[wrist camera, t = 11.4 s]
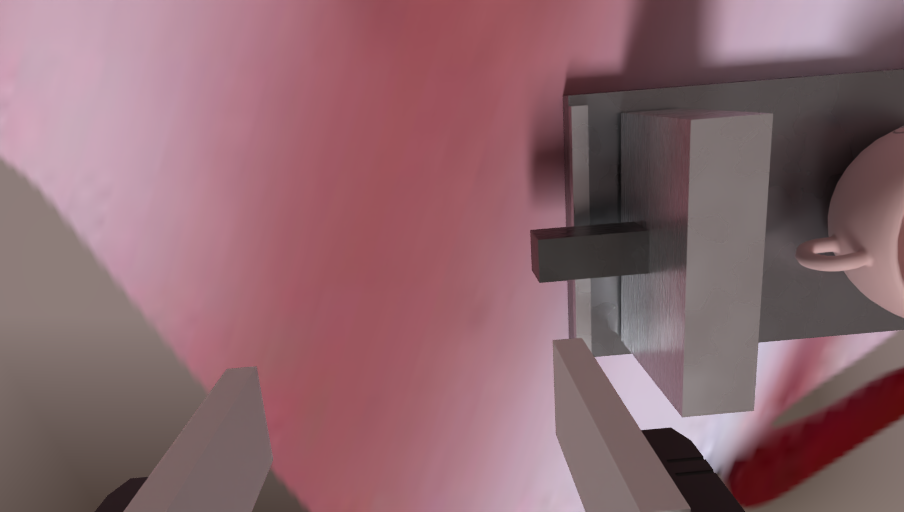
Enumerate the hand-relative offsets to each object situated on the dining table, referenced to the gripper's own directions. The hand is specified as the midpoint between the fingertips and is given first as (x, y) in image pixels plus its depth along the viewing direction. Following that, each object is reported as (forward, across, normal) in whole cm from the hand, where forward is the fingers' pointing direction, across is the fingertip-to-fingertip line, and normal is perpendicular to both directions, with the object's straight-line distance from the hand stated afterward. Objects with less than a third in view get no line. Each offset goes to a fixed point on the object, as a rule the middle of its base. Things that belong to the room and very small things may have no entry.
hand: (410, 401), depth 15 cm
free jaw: (+16, +10, 0) cm, 18 cm away
